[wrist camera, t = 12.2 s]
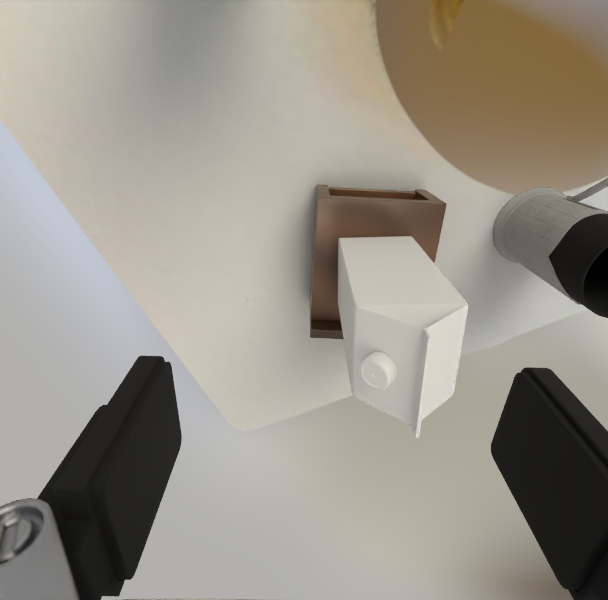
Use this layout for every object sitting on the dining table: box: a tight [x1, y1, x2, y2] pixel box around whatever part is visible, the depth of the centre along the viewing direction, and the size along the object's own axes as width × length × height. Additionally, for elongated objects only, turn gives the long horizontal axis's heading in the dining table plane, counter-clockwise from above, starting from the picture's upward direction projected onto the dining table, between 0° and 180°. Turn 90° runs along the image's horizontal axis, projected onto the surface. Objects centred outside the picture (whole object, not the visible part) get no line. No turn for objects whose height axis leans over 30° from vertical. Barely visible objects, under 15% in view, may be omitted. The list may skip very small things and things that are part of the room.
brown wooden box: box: [310, 185, 446, 339], centre depth 41 cm, size 14×12×9 cm
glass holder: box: [493, 178, 608, 318], centre depth 36 cm, size 9×14×15 cm, turn 151°
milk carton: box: [338, 236, 469, 438], centre depth 31 cm, size 7×7×19 cm
